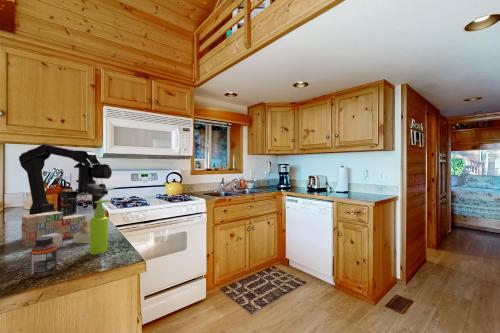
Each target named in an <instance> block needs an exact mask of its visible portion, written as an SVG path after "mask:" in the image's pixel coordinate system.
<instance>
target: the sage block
mask: <svg viewBox="0 0 500 333" xmlns="http://www.w3.org/2000/svg"><path fill="white" fill-rule="evenodd" d="M72 238H73V240H72V241H73V243H77V244H78V243H79V244H89V245H90V233H89V234H85V233H80V232H78V233H75V234H73V237H72Z"/></svg>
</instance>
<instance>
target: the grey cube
mask: <svg viewBox="0 0 500 333" xmlns="http://www.w3.org/2000/svg"><path fill="white" fill-rule="evenodd" d="M44 236H52V237H53V242H54V243H56V244H57V248H60V246H61V247H63V239H62V236H63V234H58V233H52V234H48V235H44ZM44 236H40V237H44Z"/></svg>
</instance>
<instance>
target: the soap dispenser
mask: <svg viewBox="0 0 500 333" xmlns="http://www.w3.org/2000/svg"><path fill="white" fill-rule="evenodd" d="M110 202H111V200H108V199H107V200H106V199H100V201H95V203H97V208H96V209H95V210H93V211H94V212H93V217H91V218H90V244H89V254H90V255H99V254H104V253H106V252H108V246H109V244H108V242H109V241H108V240H109V239H108V238H109V217H107V216H105V214H106V213H105V210H106V209H105V208H103V203H110Z"/></svg>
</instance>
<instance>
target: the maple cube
mask: <svg viewBox="0 0 500 333" xmlns="http://www.w3.org/2000/svg"><path fill="white" fill-rule="evenodd" d="M90 219H91V218H90ZM90 219H85V221H80V233H85V234H89V233H90Z"/></svg>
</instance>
